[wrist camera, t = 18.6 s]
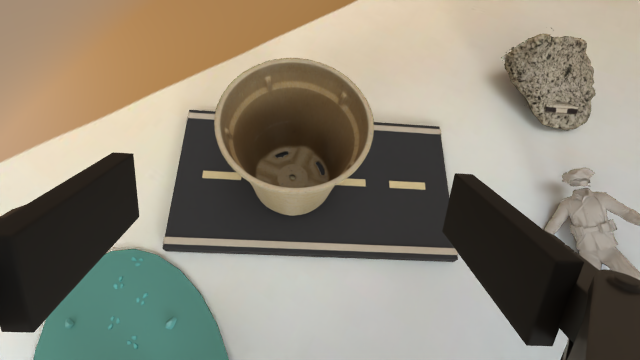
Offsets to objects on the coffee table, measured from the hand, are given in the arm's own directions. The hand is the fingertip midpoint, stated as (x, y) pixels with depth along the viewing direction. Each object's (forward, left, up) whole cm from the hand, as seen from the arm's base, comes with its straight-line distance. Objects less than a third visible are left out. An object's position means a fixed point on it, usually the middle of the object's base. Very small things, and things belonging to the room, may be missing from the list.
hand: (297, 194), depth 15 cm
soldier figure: (-24, -2, -14) cm, 28 cm away
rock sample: (-25, -18, -14) cm, 34 cm away
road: (-2, -7, -14) cm, 15 cm away
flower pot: (0, -7, -13) cm, 15 cm away
